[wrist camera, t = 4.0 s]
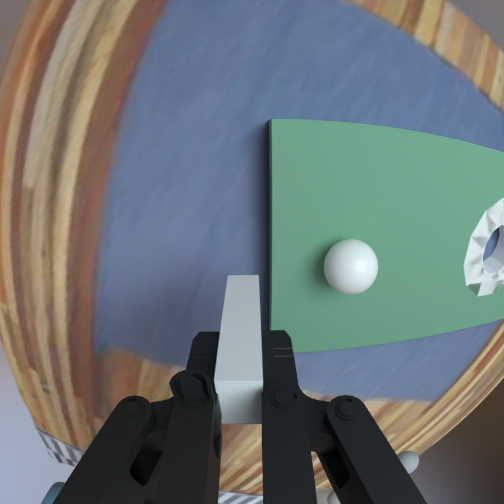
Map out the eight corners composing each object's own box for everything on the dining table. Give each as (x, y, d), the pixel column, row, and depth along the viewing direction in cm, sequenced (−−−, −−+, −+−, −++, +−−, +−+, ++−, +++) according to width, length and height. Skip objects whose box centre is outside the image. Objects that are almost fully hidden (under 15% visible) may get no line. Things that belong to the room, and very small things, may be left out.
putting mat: (268, 334, 26) (270, 353, 23) (268, 120, 18) (271, 119, 16) (492, 307, 26) (503, 318, 23) (527, 161, 18) (543, 166, 16)
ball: (316, 278, 20) (328, 307, 17) (320, 231, 19) (334, 253, 16) (363, 276, 20) (380, 303, 17) (369, 230, 19) (391, 252, 16)
